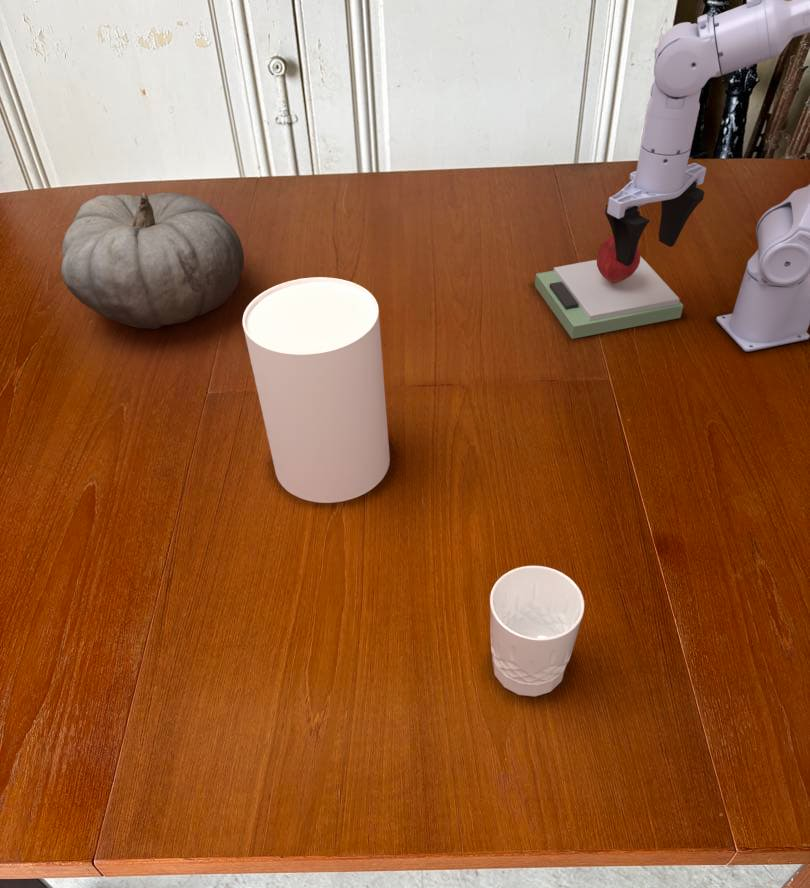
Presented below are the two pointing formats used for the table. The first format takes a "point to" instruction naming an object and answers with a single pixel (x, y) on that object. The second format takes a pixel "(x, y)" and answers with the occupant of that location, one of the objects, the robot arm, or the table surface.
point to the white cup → (533, 628)
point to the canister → (320, 386)
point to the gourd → (151, 258)
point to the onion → (614, 262)
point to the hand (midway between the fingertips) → (645, 252)
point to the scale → (606, 298)
